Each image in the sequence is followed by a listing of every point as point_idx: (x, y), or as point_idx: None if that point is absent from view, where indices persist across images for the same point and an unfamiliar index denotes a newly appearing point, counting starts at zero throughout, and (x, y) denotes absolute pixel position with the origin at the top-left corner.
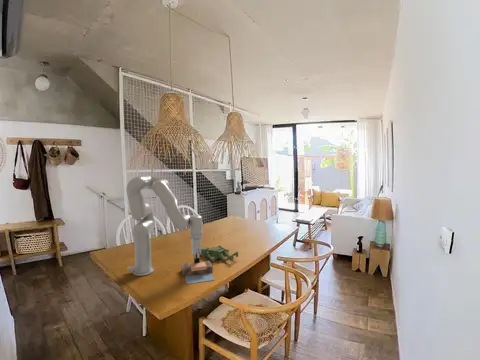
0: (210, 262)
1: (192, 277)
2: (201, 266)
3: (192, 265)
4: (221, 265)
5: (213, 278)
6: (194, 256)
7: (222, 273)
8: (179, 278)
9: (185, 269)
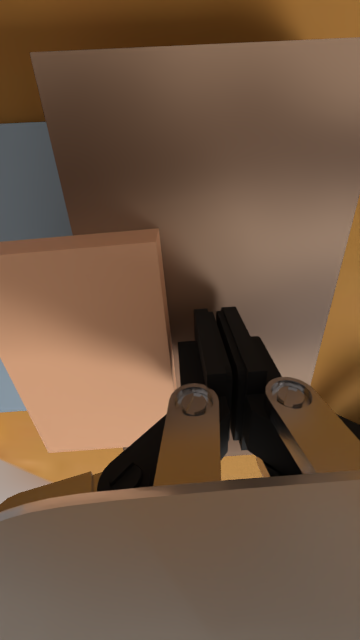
0: (238, 454)
1: (30, 233)
2: (29, 404)
3: (78, 283)
4: (253, 465)
5: (8, 409)
6: (276, 404)
7: (110, 459)
8: (18, 15)
9: (72, 126)
